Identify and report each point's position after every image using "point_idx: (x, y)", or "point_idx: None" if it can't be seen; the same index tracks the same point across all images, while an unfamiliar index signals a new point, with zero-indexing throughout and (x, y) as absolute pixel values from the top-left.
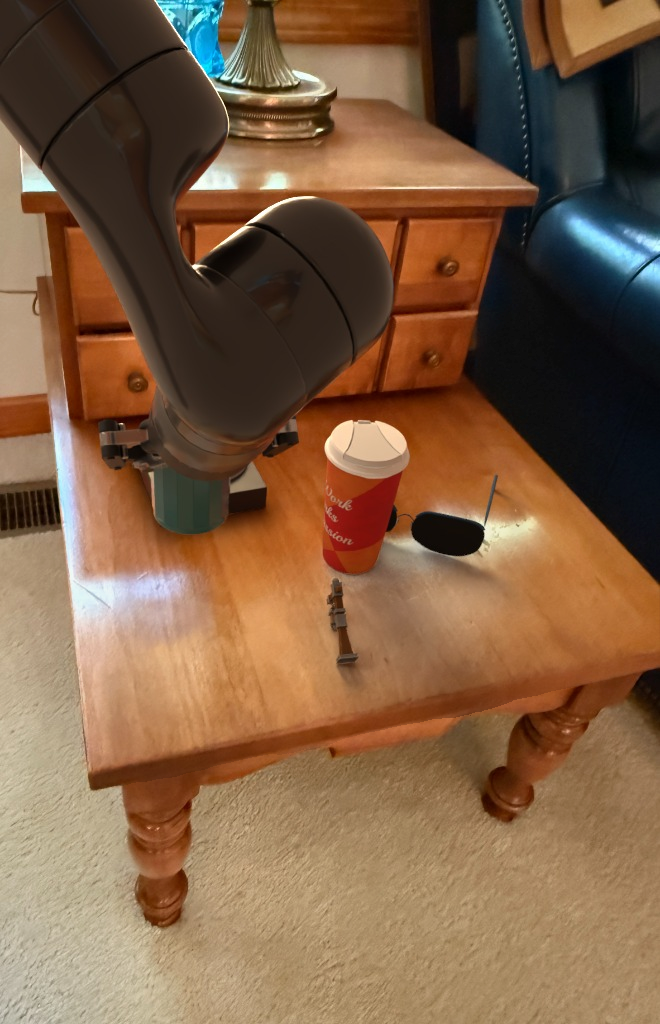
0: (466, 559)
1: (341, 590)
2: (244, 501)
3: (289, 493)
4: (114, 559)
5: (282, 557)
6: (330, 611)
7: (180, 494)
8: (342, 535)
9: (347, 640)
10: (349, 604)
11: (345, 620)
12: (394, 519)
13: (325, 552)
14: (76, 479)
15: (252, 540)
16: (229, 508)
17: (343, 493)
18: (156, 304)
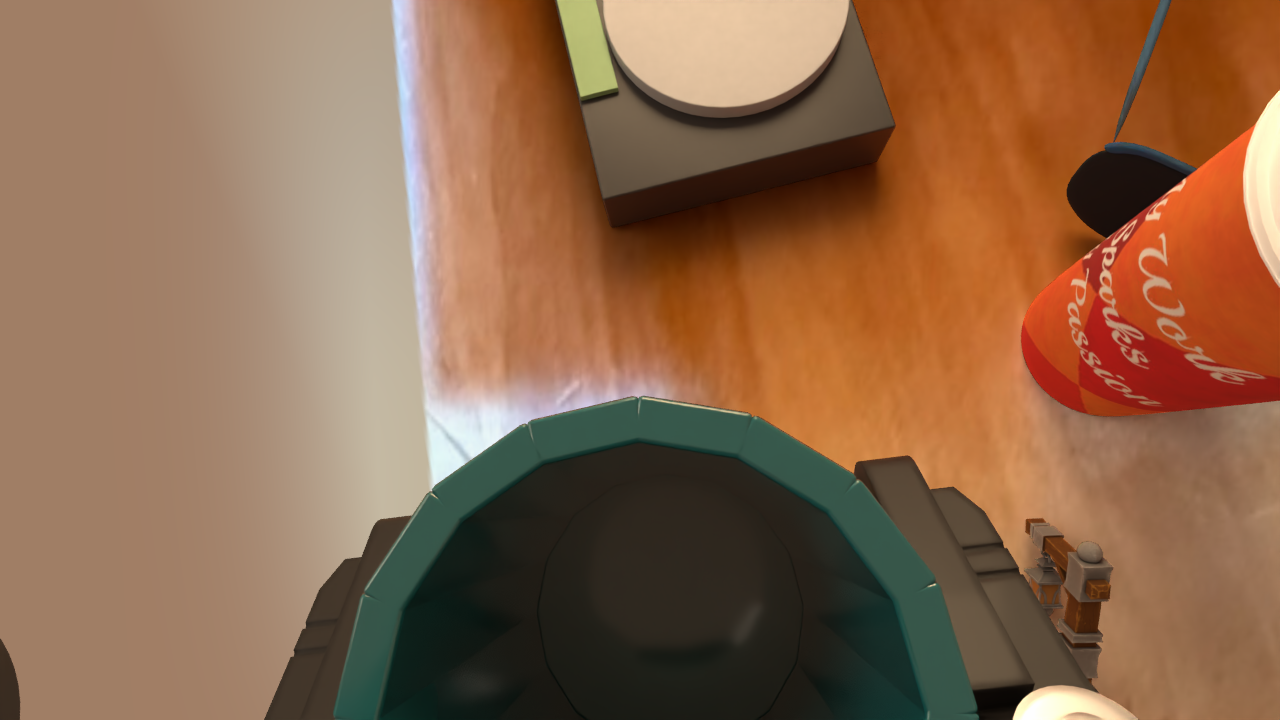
0: None
1: (1107, 598)
2: (825, 160)
3: (942, 105)
4: (505, 336)
5: (912, 344)
6: (1039, 580)
7: None
8: (1136, 389)
9: None
10: (1082, 523)
11: (1094, 664)
12: None
13: (1039, 358)
14: (419, 62)
15: (837, 280)
16: (783, 176)
17: (1243, 353)
18: None
